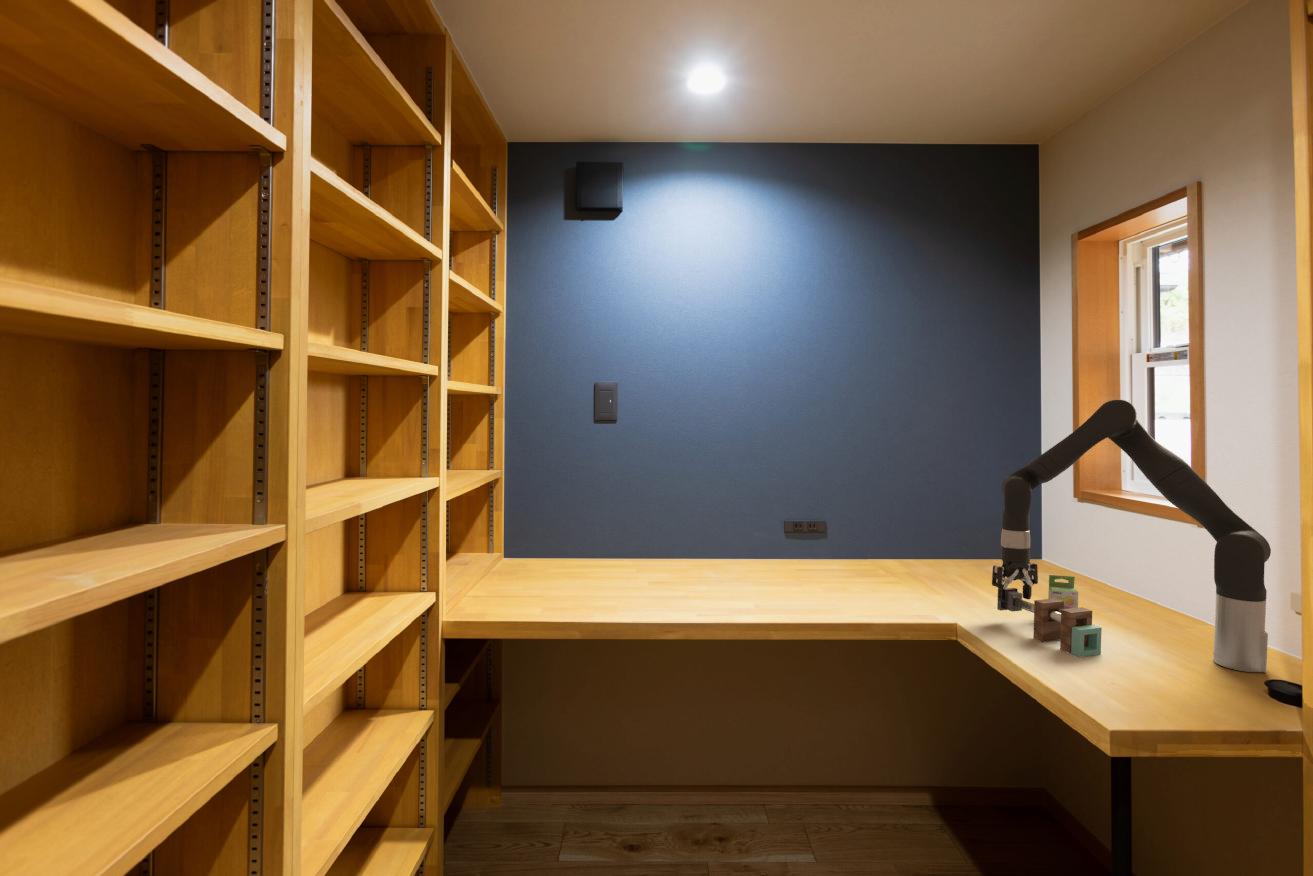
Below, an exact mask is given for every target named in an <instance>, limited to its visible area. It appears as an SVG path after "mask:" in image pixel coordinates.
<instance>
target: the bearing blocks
mask: <svg viewBox="0 0 1313 876" xmlns="http://www.w3.org/2000/svg"><path fill="white" fill-rule="evenodd" d="M1033 604H1034V613H1033V639H1034V640H1036V641H1039V642H1042V643H1044V642H1045V643H1047V642H1054V641H1060V643H1059V644H1060V645H1059V649H1060V651H1064V652H1066V653H1068V654H1071V642H1072V627H1076V619H1078V621H1079V624H1078V626H1085V625H1093V610H1092V609H1088V608H1085V607H1082V606H1081V607H1079V606H1078V608H1070V609H1064V601H1062V600H1058V599H1055V598H1052V599H1048V598H1044V599H1034V602H1033ZM1048 609H1050V610H1053V611H1056V612H1058V613H1061V623H1060V622H1057V621H1055V620H1052V619H1049V618H1048ZM1088 638H1089V634H1088V635H1084V647H1086V646H1088Z"/></svg>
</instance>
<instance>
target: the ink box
mask: <svg viewBox="0 0 1313 876" xmlns="http://www.w3.org/2000/svg"><path fill="white" fill-rule="evenodd" d="M1055 580H1065V581H1068V582H1061V581H1055ZM1052 598H1055V599H1058V600H1062V601H1064V609H1070V608H1079V592H1078V590H1076V588H1075V576H1071V575H1069V576H1068V575H1055V574H1049V575H1048V598H1047V599H1052Z"/></svg>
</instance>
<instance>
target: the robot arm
mask: <svg viewBox="0 0 1313 876" xmlns="http://www.w3.org/2000/svg"><path fill="white" fill-rule="evenodd" d="M1137 418H1138V413H1137V409H1136V408H1135V406H1134V405H1133V404H1132V403H1131V402H1129V401H1127V400H1123V399H1118V398H1117V399H1111V400H1108V401H1106V402H1104V403H1102V404H1101V405H1100V407H1098V409H1096V410H1095V412H1093V414H1092V415H1090V417H1089V418H1088V419H1086V421H1084V422H1083V423H1082V424H1081V425H1080V426H1079V427H1077V429H1075V430H1074V431H1073V432H1072V433H1070V434H1068V435H1067V436H1066V437H1064V438H1063V439H1061V441H1059V442H1058V443H1056V444H1055V445H1053V446H1052V447H1050V448H1049V449H1047V450H1046V451H1045V452H1043V453H1042V454H1040V455H1039V456H1038V457H1036V458H1035V459H1034V460H1032V461H1031V462H1030V463H1029V464H1027V465H1025V466H1024V467H1021V468H1019V469H1018V470H1017V471H1015V472H1013V473H1012V474H1010V475H1009V476H1007V477H1006V478H1005V479H1004V480H1003V482H1002V484H1001V491H1002V493H1003V496H1004V497H1003V498H1004V503H1003V504H1004V508H1003V512H1002V517H1001V518H1002V519H1001V522H1002V524H1001V535H1000V560H1001V561H1002V565H1001V566H1000V565H995V564H994V565H993V566H992V576H991V586H993V587H996V588H997V599H998V598H999V600H1000V601H1002V602H1007V589H1006V588H1009V587H1008V586H1009V585H1010V584H1012V583H1013V581H1017V580H1018V581H1021V583H1022V584H1023V585H1022V599H1026V600H1031V598H1032V591H1033V590H1032V587H1033V586H1034V585H1038V583H1039V575H1038V573H1039V571H1038V564H1037V563H1033V562H1031V532H1030V527H1031V526H1030V522H1031V519H1030V512H1031V511H1030V509H1031V505H1032V497H1033V496H1032V491H1033V490H1034V489H1036V488H1037V487H1039V486H1041V485H1042V484H1046V483H1048V482H1050V481H1052V480H1053V479H1054V478H1056V477H1058V476H1059V475H1061V474H1062V473H1064V472H1065V471H1067V470H1068V469H1069V468H1070V467H1071V466H1073V465H1074V464H1075V463H1076V462H1077V461H1078V460H1080V459H1081V458H1082V457H1083V456H1084V455H1085V454H1086V453H1087V452H1089V451H1090V449H1092V448H1093V447H1095V446H1096V445H1097V444H1099V443H1101V442H1102V441H1104V440H1106V439H1107V438H1108V439H1109V440H1110V441H1112V443H1114V445H1116V446H1118V448H1120V449H1121V450H1122V451H1123V452H1124V453H1125V454H1126V455H1127V456H1128V457H1129V458H1130V460H1132V461H1133V463H1134V464H1135V466H1136V467H1137V468H1138V469H1139V471H1140V472H1141V473H1142V474H1143V475H1144V477H1145V478H1146V479H1147V480H1148V481H1149V482H1150V483H1151V484H1152V485H1153V486H1154V488H1155V489H1156V490H1157V491H1158V492H1159V493H1160V494H1161V495H1162V496H1163V497H1164V498H1165V499H1166V500H1167V501H1169V502H1170V503H1171V504H1172V505H1173V506H1175V508H1177V509H1178V510H1180V511H1181V512H1183V513H1184V514H1186V515H1188V516H1189V517H1190V518H1192V519H1194V520H1195V521H1196V522H1197V523H1199V524H1200V525H1201V526H1202V527H1203V529H1205V530H1206V531H1207V532H1208V533H1209V535H1211V537H1212V538H1213V539H1214V541H1216V544H1215V545H1214V555H1213V557H1214V558H1213V579H1214V580H1213V581H1214V584H1215V589H1216V590H1215V609H1214V610H1215V611H1214V612H1215V613H1214V634H1213V635H1214V637H1213V662H1214V664H1217V665H1220V667H1221V666H1222V667H1224V668H1227V669H1230V670H1235V671H1240V672H1245V673H1265V674H1266V673H1267V667H1268V666H1267V661H1268V643H1269V642H1268V641H1269V639H1268V638H1269V635H1268V632H1266V612H1267V611H1266V610H1267V609H1266V608H1267V592H1268V591H1267V589H1266V585H1265V564H1266V562H1267V561H1268V560H1269V558H1270V557H1271V552H1272V551H1271V546H1270V543H1269V542H1268V540H1267V538H1265V537H1264V536H1263V535H1262V534H1261V533H1260V532H1258V531H1257V530H1256V529H1255V528H1254V527H1252V526H1251V525H1249V524H1248V522H1246V521H1245V520H1243V519H1242V518H1241V517H1240V516H1239V515H1238V514H1236V513H1235V512H1234V511H1233V510H1232V509H1231V508H1230V507H1229V506H1228V505H1227V504H1226V503H1225V502H1224V501H1223V499H1222V498H1221V497H1220V496H1219V494H1218V493H1216V491H1214V489H1213V488H1212V487H1211V486H1210V485H1209V484H1208V483H1207V482H1206V481H1205V480H1204V479H1203V478H1202V477H1201V475H1199V474H1198V472H1196V471H1195V470H1194V469H1193V467H1191V466H1190V465H1189V463H1187V462H1186V460H1184V459H1183V458H1181V457H1180V456H1179V455H1177V453H1174V452H1173V451H1172V450H1170V449H1168V448H1167V447H1166V446H1165V445H1162V444H1161V443H1159V442H1158V441H1157V440H1156V439H1154V438H1153V437H1152V436H1151V435H1150V433H1148V431H1147V430H1146V429H1145V428H1144V426H1143V425H1142V424H1141V423H1140V421H1139V420H1138V419H1137Z"/></svg>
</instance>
